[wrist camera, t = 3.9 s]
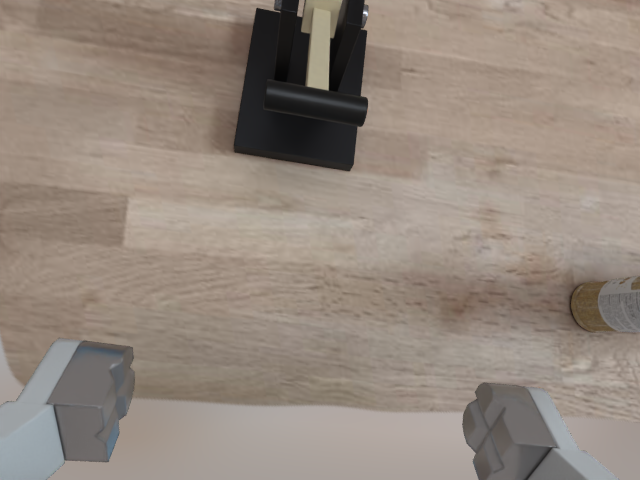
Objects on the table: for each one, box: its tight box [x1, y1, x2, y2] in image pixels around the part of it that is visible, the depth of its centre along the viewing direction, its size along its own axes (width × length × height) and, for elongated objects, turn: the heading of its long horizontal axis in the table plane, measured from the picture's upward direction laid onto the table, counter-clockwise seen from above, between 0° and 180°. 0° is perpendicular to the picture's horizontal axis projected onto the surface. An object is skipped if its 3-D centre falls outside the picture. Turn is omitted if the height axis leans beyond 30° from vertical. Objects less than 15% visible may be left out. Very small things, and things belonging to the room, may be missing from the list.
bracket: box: [234, 0, 368, 171], centre depth 34 cm, size 13×10×13 cm
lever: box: [263, 0, 368, 127], centre depth 26 cm, size 13×5×2 cm, turn 174°
